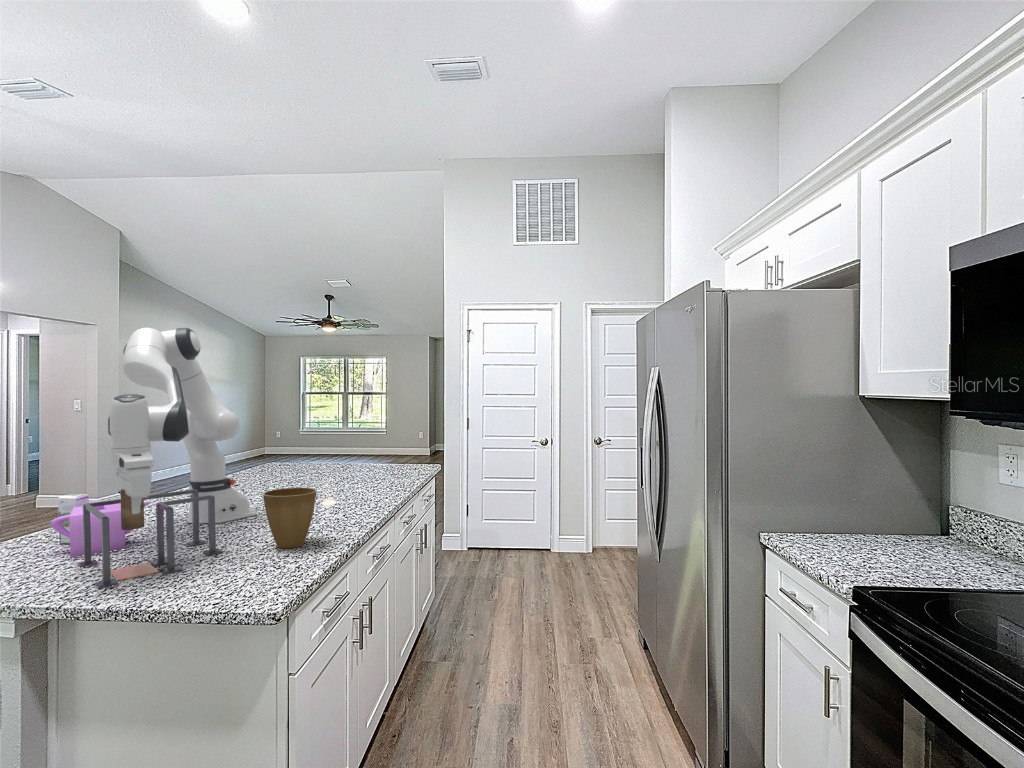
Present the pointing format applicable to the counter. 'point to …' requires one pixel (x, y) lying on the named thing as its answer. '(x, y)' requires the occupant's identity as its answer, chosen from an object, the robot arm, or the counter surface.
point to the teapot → (93, 529)
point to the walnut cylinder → (127, 518)
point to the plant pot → (290, 514)
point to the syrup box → (69, 510)
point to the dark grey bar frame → (160, 532)
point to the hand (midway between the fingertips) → (132, 511)
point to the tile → (134, 571)
